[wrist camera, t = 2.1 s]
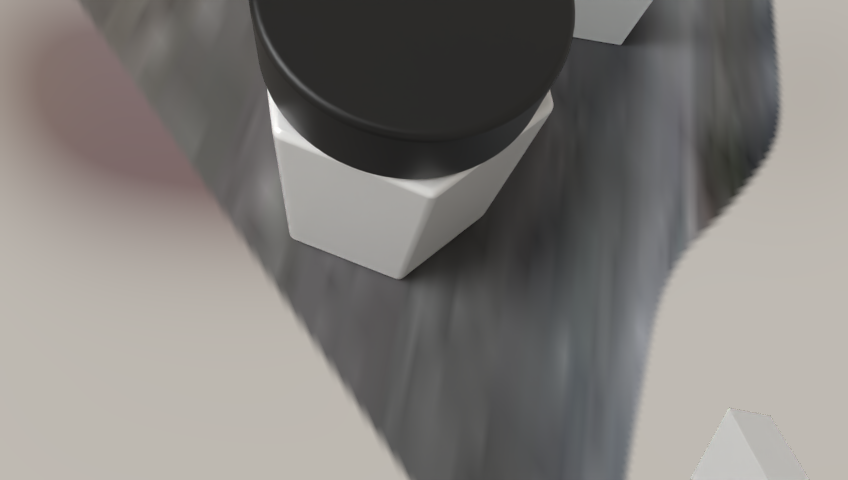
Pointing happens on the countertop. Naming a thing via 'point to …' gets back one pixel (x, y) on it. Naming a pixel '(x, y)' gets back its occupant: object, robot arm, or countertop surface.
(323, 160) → the jar
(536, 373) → the countertop surface
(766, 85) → the countertop surface
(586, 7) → the acrylic wall
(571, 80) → the countertop surface
